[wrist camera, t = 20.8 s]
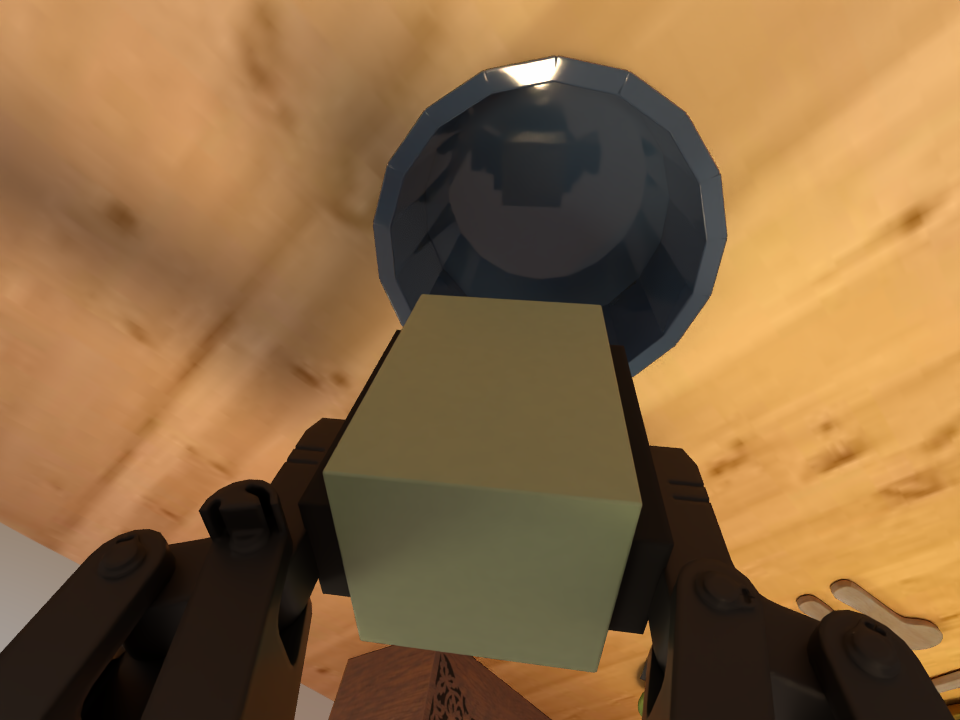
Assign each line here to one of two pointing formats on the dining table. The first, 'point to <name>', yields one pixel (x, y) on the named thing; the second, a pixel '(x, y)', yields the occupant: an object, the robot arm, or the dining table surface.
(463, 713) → the tissue box cover
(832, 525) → the dining table surface
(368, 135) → the dining table surface
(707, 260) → the bowl
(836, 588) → the tableware set
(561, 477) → the block
